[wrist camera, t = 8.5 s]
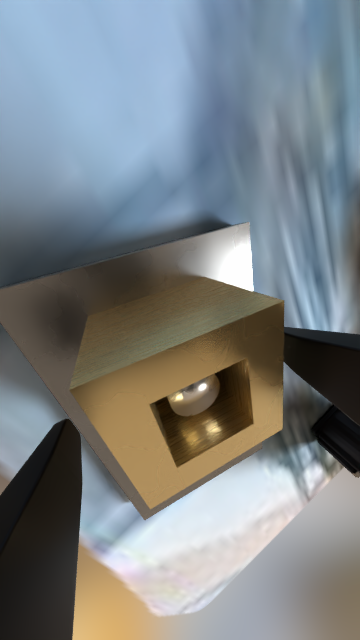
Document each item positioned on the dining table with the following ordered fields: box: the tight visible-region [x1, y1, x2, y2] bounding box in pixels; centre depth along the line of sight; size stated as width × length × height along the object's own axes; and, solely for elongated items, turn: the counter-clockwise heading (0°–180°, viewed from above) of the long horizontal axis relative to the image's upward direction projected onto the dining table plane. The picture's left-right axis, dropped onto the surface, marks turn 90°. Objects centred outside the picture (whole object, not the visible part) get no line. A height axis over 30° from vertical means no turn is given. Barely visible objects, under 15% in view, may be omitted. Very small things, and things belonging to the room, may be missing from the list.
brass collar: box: [69, 277, 284, 509], centre depth 8 cm, size 6×6×5 cm
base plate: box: [0, 222, 262, 520], centre depth 11 cm, size 20×12×6 cm, turn 14°
